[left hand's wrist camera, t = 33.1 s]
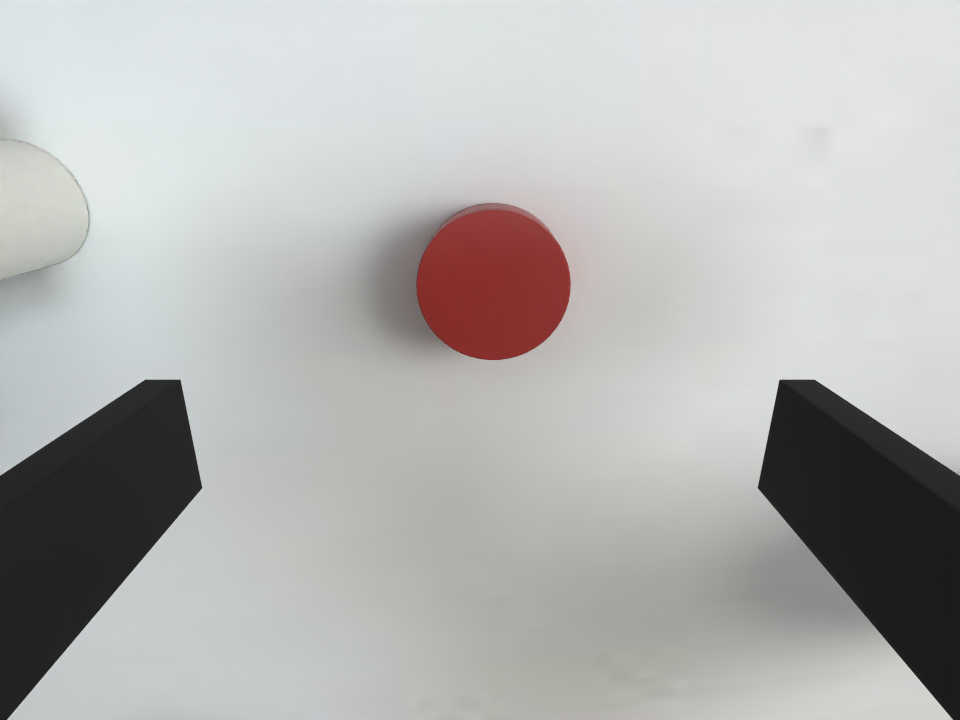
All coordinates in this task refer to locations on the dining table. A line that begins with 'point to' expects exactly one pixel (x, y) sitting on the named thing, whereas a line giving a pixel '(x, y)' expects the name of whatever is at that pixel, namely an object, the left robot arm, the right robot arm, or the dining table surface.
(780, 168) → the dining table surface
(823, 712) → the dining table surface
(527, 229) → the lid
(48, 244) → the white cylinder
